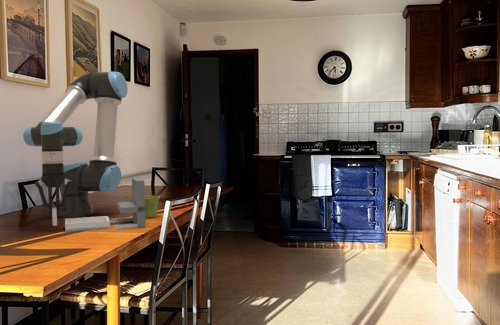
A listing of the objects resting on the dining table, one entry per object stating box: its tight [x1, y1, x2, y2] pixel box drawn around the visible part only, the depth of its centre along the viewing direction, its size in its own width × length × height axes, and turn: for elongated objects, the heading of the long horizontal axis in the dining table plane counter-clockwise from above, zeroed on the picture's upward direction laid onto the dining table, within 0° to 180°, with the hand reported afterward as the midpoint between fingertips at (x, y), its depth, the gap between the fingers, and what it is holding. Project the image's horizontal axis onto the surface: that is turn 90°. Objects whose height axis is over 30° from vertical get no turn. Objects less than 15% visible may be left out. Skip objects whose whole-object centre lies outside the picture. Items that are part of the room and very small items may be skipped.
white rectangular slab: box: [64, 215, 111, 233], centre depth 192 cm, size 12×16×3 cm
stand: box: [110, 176, 147, 230], centre depth 196 cm, size 16×12×18 cm
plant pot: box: [145, 195, 161, 219], centre depth 214 cm, size 9×9×9 cm
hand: (55, 224), depth 188 cm, fingers closed
